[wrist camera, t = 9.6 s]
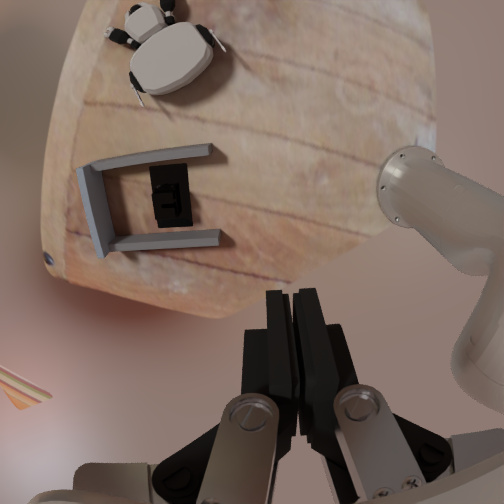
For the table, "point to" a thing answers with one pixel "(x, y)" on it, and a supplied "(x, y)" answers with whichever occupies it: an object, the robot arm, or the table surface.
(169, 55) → the robot toy
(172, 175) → the black bracket part
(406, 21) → the table surface
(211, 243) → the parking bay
